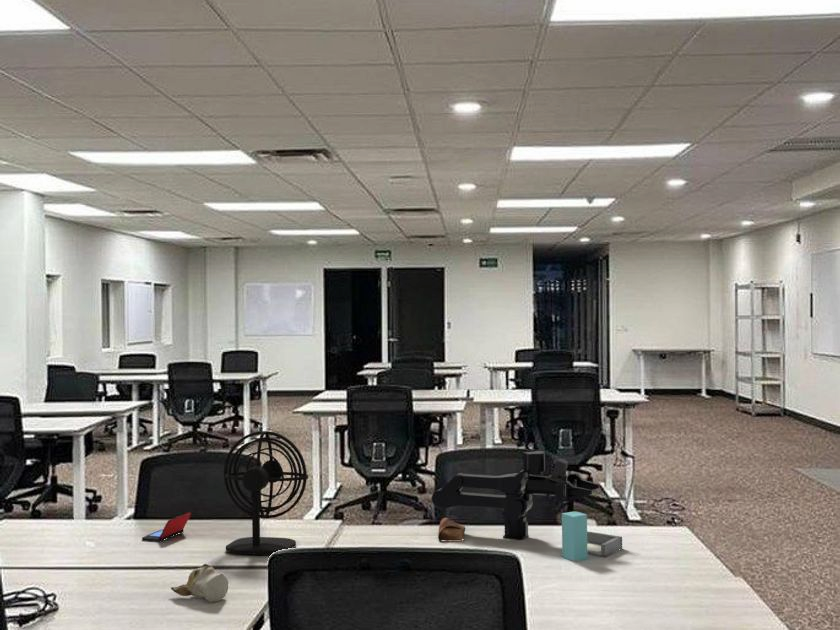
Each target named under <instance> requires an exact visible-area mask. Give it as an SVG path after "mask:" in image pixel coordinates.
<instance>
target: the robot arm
mask: <svg viewBox="0 0 840 630" xmlns="http://www.w3.org/2000/svg"><path fill="white" fill-rule="evenodd" d="M522 461H523V462H522V463H523V467H522V468H523V469H522V470H520V471H519V472H515V473H506V474H502V475H489V474H488V475H487V474H473V473H464V472H459V473H458V474H454V476H453V477H452V479H451V480H450V481H449V482H447V483H446V484H445V485H444V486H443V487H441V488H439V489H437V490H435V491H434V492H433V493H432V495H431V502H432V504H433V505H434V507H435V508H438V509H445V508H451V507H457V506H463V507H465V506H466V507H475V508H476V507H478V508H488V509H500V510H503V511H502V517H503V520H504V535H502V538H503V539H504V538H505V539H514V540H515V539H516V540H524V539H525V538H527V537H528V536H529V521H527V516H526V515H527V514H528V511H529V510H530V509H531V508H532V507H533V505H534V504H533V503H534V502H533V495H536V496H545V497H546V498H550V497H552V496H553V497H554V501H556V503H557V504H562V505H563V504H566V503H569V502H572V501H575V500H579V499H581V498H583V497H584V498H585V497H587V496H590V495H592V494H593V491H594V490H598V489H599V488H600V485H599V484H598V483H594V482H591V481H588V480H586V479H584V478H583V477H582V476H581V474H580V473H579V472H571V473H569V475H567V474H566V472H567V470H568V467H569V466H570V461H567V459H565V458H563V459H562V458H560V457H559V458H558V459H557V460H556V461H555V464H554V466H553V470H552V473H551V474H549V476H547V475H546V476H545V475H542V473H543V472H545V471H546V455H545V451H542V450H541V451H539V450H536V451H525V452H524V451H523V453H522ZM463 488H474V489H475V488H476V489H490V490H491V489H492V490H496V491H499V492H501V493H504V494H503V495H502V494H490V493H479V492H478V493H477V492H464V491H461V490H462V489H463ZM524 490H525V491H524Z"/></svg>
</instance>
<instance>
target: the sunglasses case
mask: <svg viewBox="0 0 840 630" xmlns="http://www.w3.org/2000/svg"><path fill="white" fill-rule="evenodd" d="M464 528H465V529H466V527H465V525H462V524H460V523H457V522H456V521H454V520H452V519H450V518H448V517H443V518H441V520H440V523H439V526H438V535H437V536H438V537H437V538H438V540H439V541H440V540H462V539H464V540H465V536H464V532H465V529H464Z"/></svg>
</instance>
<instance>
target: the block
mask: <svg viewBox="0 0 840 630" xmlns="http://www.w3.org/2000/svg"><path fill="white" fill-rule="evenodd" d="M587 531H588V514H586V513H583V512H579V511H576V510H575V511H570V512H562V513H561V549H562V550H561V551H562V552H561V553H562V554H561V555H562V556H561V557H562V558H564V559H566V560H568V561H571V562H578V561H583V560H588V556H589V554H588V553H587Z"/></svg>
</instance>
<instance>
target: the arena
mask: <svg viewBox="0 0 840 630" xmlns="http://www.w3.org/2000/svg"><path fill="white" fill-rule="evenodd" d="M621 548H622V549H623V536H621V535H620V536H619V535H613V534H607V533H606V534H605V533H601V532H594V531H588V530H587V553H588V556H589V555H590V556H597V557H602V558H607V557H609V556H611V555H612V553H613V554H614V552H615V553H616V551H617V552H618V550H619V549H621ZM622 549H621V550H622ZM619 551H620V550H619Z"/></svg>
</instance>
